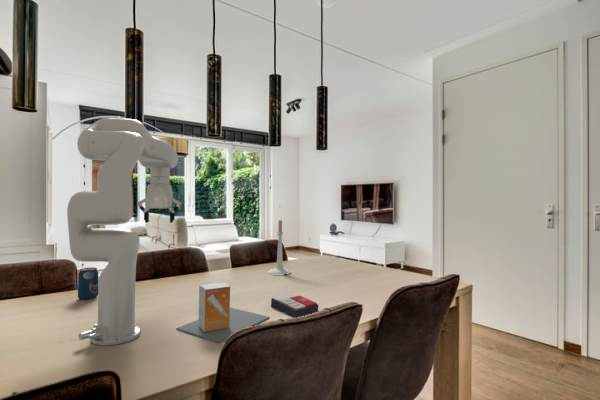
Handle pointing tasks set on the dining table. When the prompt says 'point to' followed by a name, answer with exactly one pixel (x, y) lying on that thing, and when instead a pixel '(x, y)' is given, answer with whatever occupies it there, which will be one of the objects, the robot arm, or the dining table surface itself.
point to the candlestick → (279, 255)
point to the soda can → (87, 284)
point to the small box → (214, 306)
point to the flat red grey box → (294, 305)
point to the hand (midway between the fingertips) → (159, 222)
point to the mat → (236, 322)
